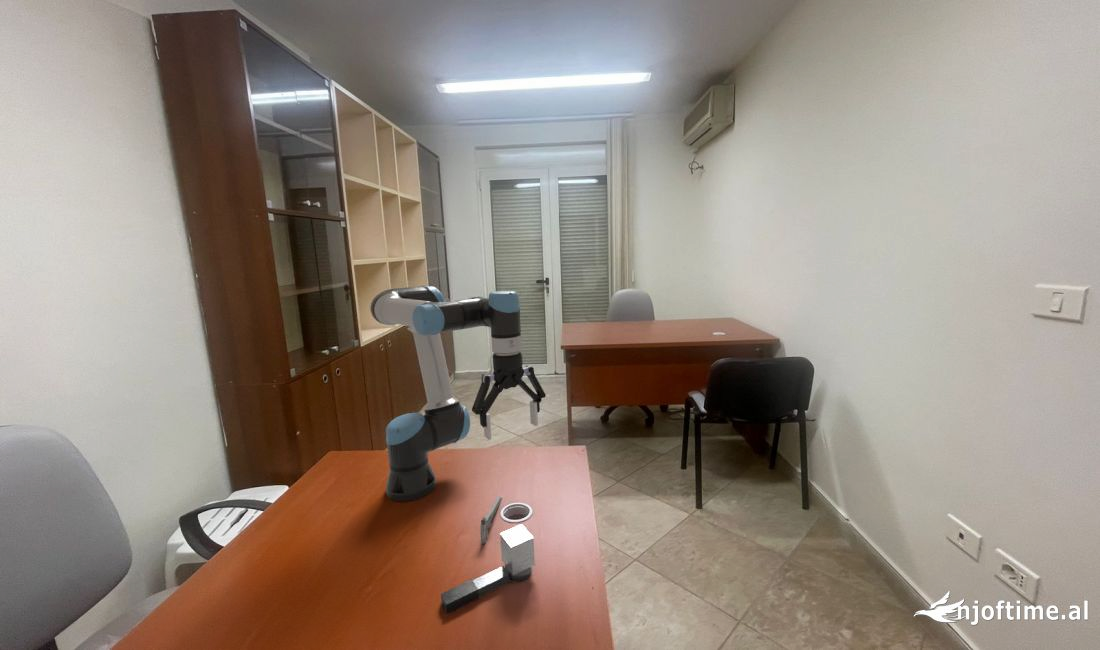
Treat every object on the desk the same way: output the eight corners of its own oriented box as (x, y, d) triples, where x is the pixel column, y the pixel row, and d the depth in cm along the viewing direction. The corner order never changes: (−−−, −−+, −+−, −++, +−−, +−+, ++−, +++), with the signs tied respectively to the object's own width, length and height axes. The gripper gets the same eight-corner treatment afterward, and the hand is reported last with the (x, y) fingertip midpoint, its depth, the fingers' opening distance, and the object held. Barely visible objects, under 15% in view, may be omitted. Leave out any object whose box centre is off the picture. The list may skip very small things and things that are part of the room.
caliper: (485, 545, 104) (483, 523, 103) (481, 545, 104) (479, 523, 103) (502, 498, 124) (501, 479, 123) (498, 498, 124) (497, 479, 123)
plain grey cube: (501, 560, 95) (500, 533, 93) (523, 550, 98) (521, 524, 96) (512, 575, 90) (511, 547, 89) (534, 564, 93) (533, 537, 92)
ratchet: (439, 598, 88) (437, 571, 87) (523, 558, 98) (522, 534, 97) (448, 618, 83) (446, 590, 82) (536, 574, 93) (534, 549, 92)
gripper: (465, 363, 94) (472, 449, 98) (556, 347, 107) (559, 423, 111) (454, 357, 100) (461, 438, 104) (541, 342, 113) (544, 415, 117)
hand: (511, 430), depth 107 cm, fingers open, 13 cm apart
